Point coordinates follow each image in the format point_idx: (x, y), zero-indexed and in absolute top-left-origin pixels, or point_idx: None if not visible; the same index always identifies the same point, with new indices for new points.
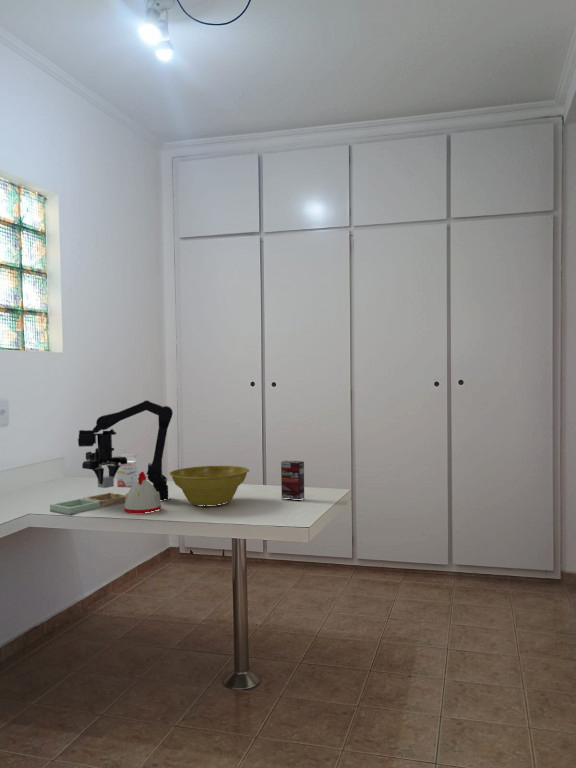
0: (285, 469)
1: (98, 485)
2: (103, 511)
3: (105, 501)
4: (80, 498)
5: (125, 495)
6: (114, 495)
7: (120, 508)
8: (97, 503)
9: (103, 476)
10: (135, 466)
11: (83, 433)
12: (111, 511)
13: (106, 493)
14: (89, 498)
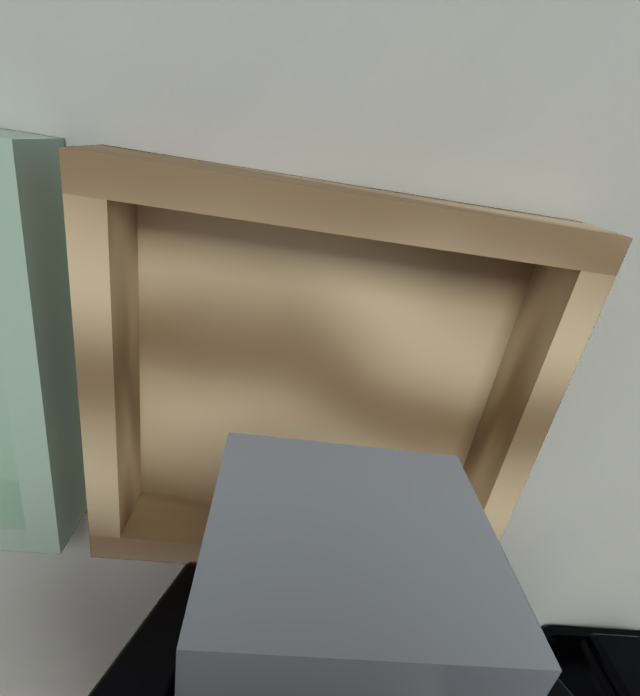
0: None
1: (223, 469)
2: (27, 599)
3: (141, 553)
4: (9, 146)
5: None
6: (528, 360)
7: None
8: (29, 540)
9: (411, 674)
10: None
11: None
12: (72, 640)
13: (539, 241)
14: (110, 293)
